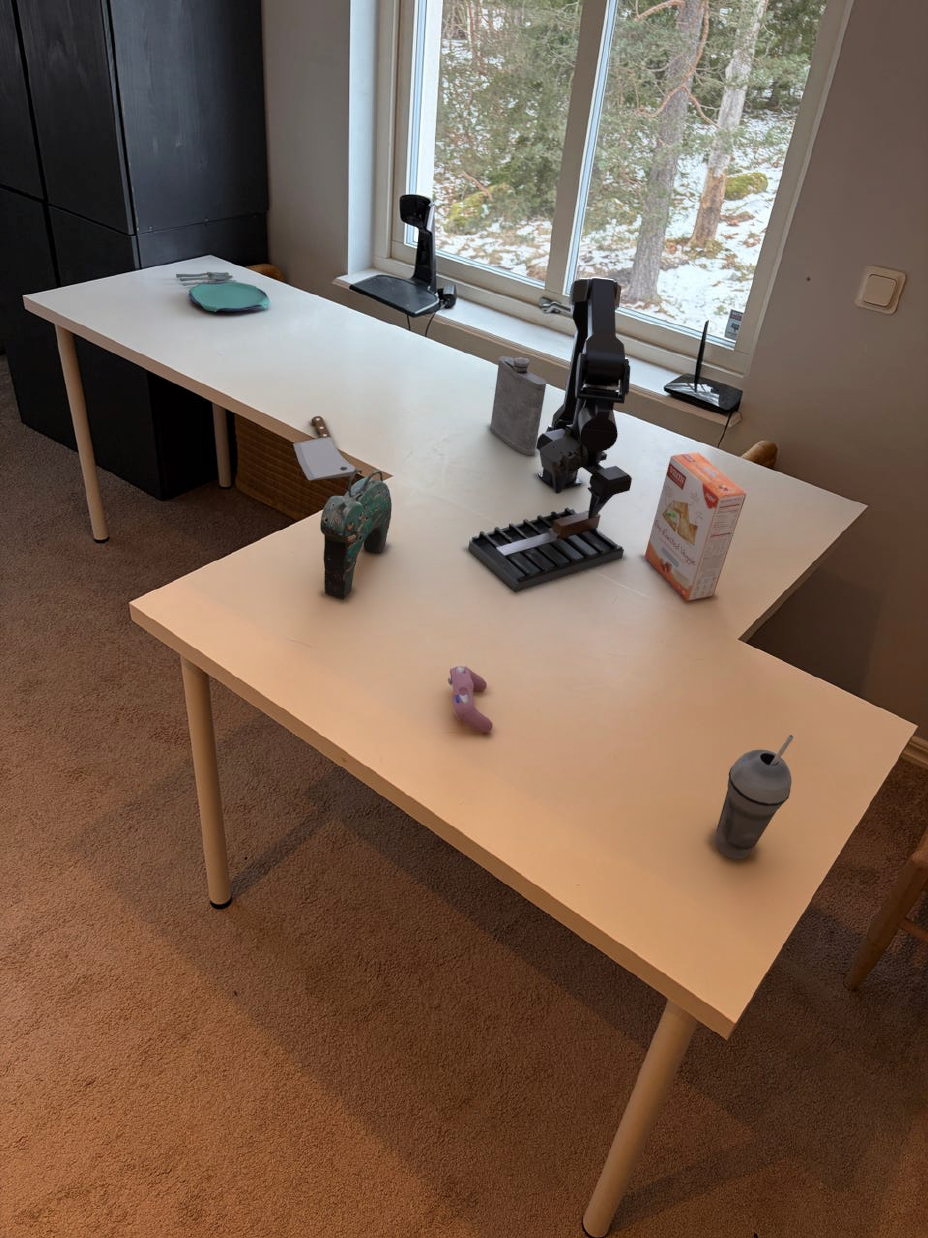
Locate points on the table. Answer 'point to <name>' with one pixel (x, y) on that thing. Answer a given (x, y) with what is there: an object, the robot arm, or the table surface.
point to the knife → (554, 533)
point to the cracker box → (694, 525)
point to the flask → (517, 404)
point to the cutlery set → (224, 293)
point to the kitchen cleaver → (322, 455)
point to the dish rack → (542, 552)
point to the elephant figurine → (353, 529)
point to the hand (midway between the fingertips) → (574, 505)
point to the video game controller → (468, 698)
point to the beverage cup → (752, 800)
